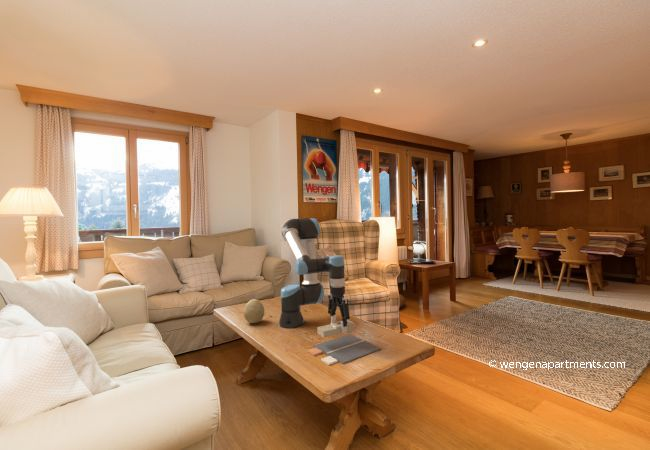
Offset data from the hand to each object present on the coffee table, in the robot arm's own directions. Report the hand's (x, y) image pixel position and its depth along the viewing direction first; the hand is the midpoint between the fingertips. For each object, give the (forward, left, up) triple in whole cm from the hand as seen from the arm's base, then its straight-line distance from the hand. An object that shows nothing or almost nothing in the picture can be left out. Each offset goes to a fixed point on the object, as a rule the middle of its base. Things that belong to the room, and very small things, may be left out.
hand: (339, 330), depth 163 cm
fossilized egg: (-60, -21, -8) cm, 64 cm away
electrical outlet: (0, -1, -1) cm, 2 cm away
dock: (+6, -3, -7) cm, 10 cm away
